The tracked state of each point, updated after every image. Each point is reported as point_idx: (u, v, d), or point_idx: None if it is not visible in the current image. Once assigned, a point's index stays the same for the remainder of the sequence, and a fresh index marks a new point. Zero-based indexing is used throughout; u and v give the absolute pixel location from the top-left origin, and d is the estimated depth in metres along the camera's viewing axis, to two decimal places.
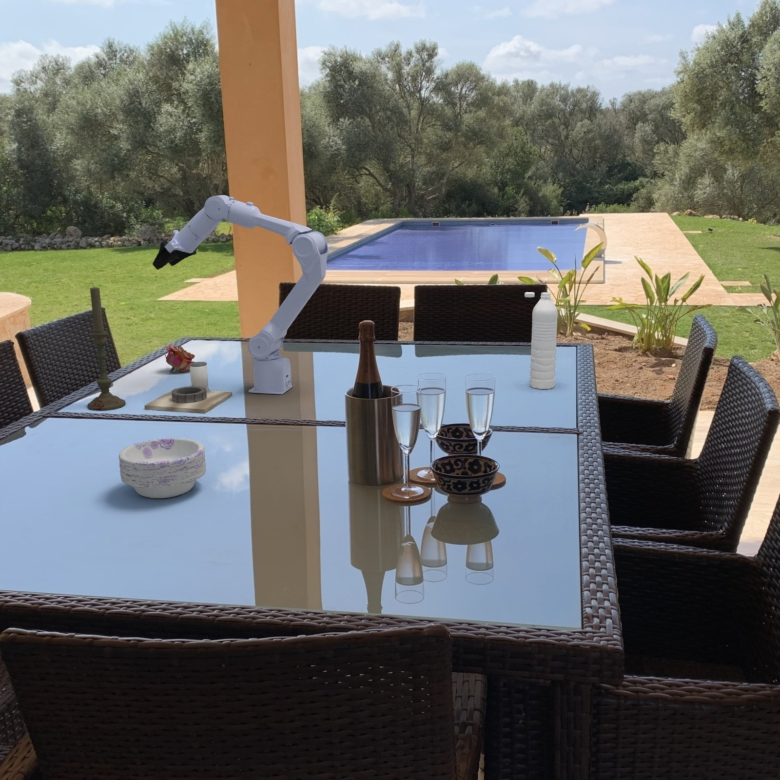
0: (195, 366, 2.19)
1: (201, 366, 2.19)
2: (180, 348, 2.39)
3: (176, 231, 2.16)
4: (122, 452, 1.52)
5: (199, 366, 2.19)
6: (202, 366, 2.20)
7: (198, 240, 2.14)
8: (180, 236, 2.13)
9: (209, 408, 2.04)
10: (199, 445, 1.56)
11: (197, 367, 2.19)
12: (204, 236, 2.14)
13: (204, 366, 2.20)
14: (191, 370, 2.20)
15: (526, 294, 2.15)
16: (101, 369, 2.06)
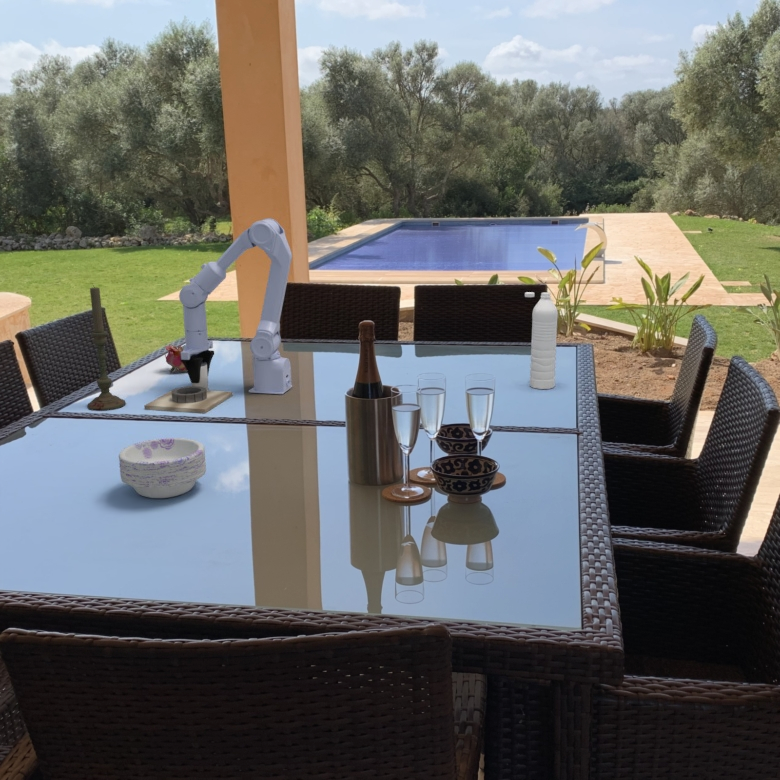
0: None
1: (201, 366, 2.19)
2: (180, 348, 2.39)
3: (184, 345, 2.21)
4: (122, 452, 1.52)
5: None
6: (202, 366, 2.20)
7: (202, 333, 2.17)
8: (187, 344, 2.17)
9: (209, 408, 2.04)
10: (199, 445, 1.56)
11: None
12: (204, 326, 2.17)
13: (204, 366, 2.20)
14: None
15: (526, 294, 2.15)
16: (101, 369, 2.06)
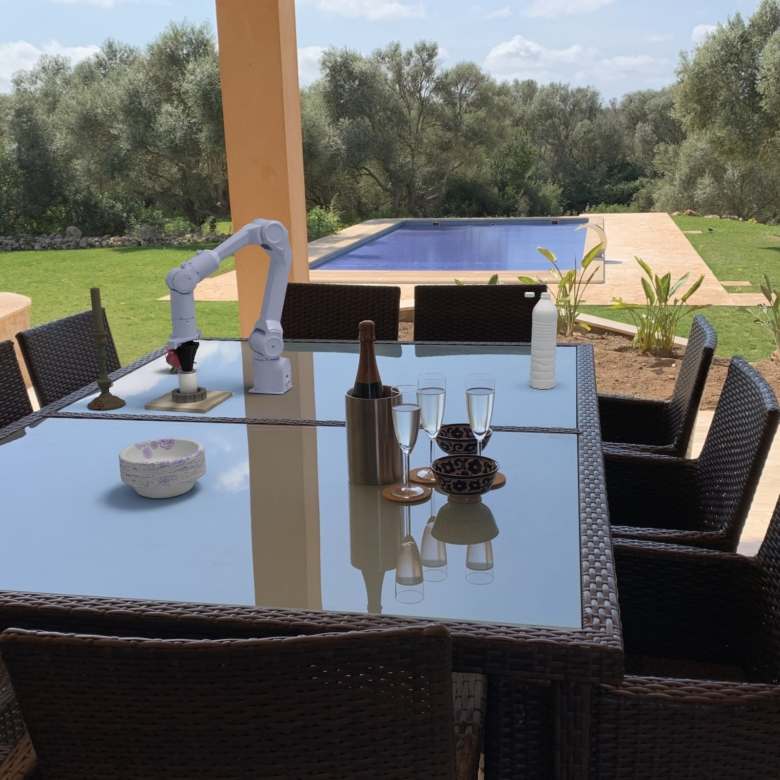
0: (183, 373, 2.07)
1: (190, 373, 2.07)
2: None
3: (171, 334, 2.07)
4: (122, 452, 1.52)
5: (188, 373, 2.07)
6: (191, 373, 2.07)
7: (190, 321, 2.04)
8: (175, 332, 2.04)
9: (209, 408, 2.04)
10: (199, 445, 1.56)
11: (186, 374, 2.07)
12: None
13: (193, 373, 2.08)
14: (179, 378, 2.08)
15: (526, 294, 2.15)
16: (101, 369, 2.06)
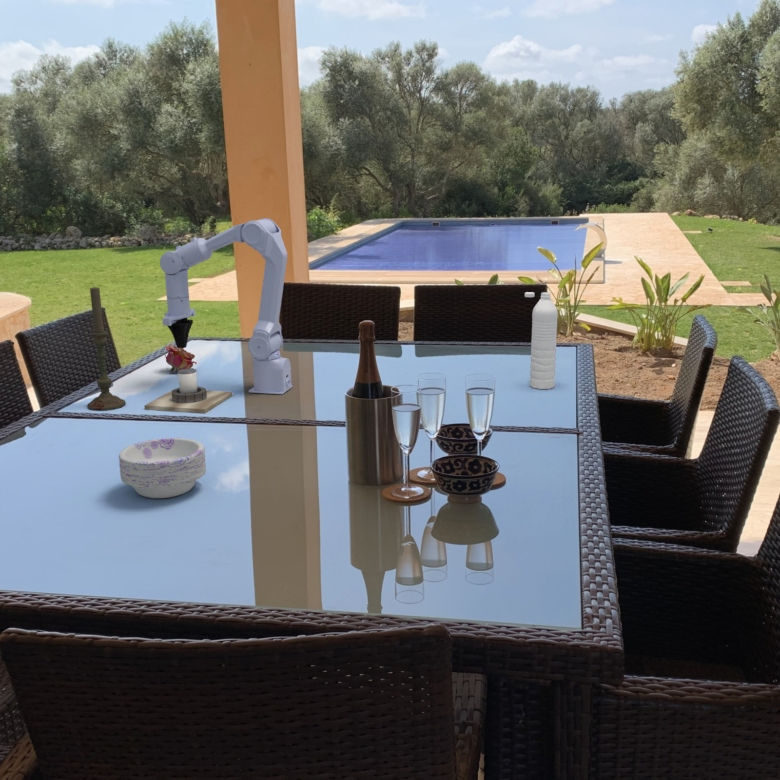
0: (183, 373, 2.07)
1: (190, 373, 2.07)
2: (180, 348, 2.39)
3: (167, 312, 2.23)
4: (122, 452, 1.52)
5: (188, 373, 2.07)
6: (191, 373, 2.07)
7: (184, 300, 2.19)
8: (170, 311, 2.20)
9: (209, 408, 2.04)
10: (199, 445, 1.56)
11: (186, 374, 2.07)
12: (185, 293, 2.19)
13: (193, 373, 2.08)
14: (179, 377, 2.08)
15: (526, 294, 2.15)
16: (101, 369, 2.06)
